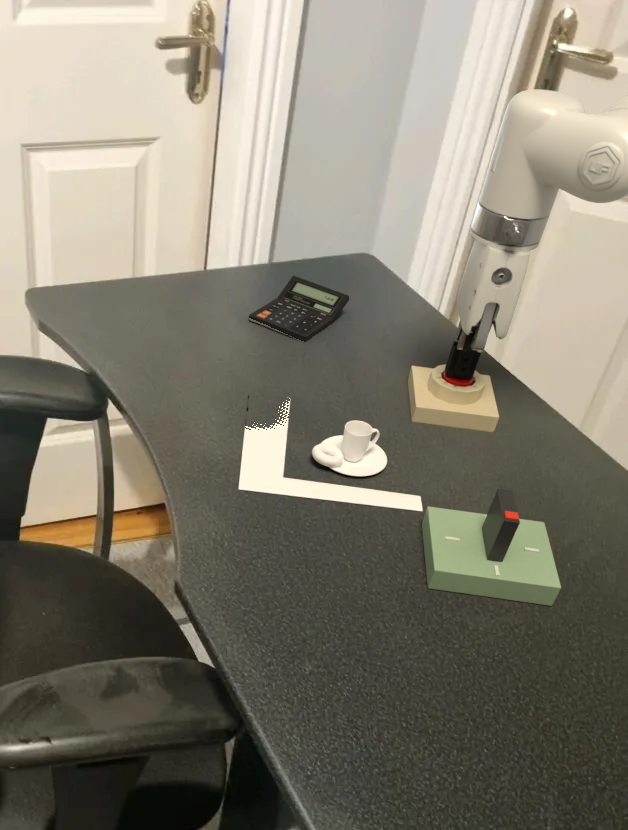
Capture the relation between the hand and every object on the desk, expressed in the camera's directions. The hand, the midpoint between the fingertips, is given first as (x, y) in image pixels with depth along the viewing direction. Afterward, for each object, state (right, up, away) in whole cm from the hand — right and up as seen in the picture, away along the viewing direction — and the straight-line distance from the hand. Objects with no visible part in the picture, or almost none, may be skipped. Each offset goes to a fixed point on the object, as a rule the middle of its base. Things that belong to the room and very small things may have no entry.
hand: (457, 375), depth 105 cm
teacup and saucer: (-17, -10, -5) cm, 20 cm away
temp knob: (-3, -22, -20) cm, 30 cm away
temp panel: (-3, -24, -18) cm, 30 cm away
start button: (0, -1, +1) cm, 2 cm away
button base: (0, -3, +3) cm, 4 cm away
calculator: (-17, +13, +18) cm, 28 cm away
